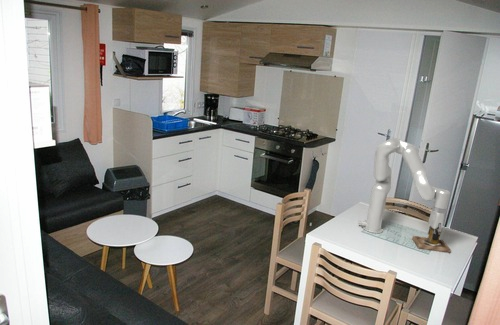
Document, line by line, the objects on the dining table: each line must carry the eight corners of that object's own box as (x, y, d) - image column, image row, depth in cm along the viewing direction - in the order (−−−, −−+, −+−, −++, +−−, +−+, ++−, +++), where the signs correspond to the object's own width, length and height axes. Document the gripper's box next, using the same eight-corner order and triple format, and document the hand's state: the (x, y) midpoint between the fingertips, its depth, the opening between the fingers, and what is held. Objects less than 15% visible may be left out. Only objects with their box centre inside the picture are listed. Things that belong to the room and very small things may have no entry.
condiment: (440, 244, 237) (445, 226, 234) (432, 246, 232) (437, 227, 229) (429, 239, 242) (434, 221, 240) (421, 241, 238) (426, 222, 235)
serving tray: (418, 248, 233) (419, 244, 232) (412, 239, 245) (412, 235, 244) (449, 252, 231) (450, 249, 231) (441, 243, 244) (442, 239, 243)
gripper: (427, 203, 241) (421, 230, 245) (438, 214, 224) (431, 242, 229) (440, 205, 240) (434, 232, 245) (451, 215, 224) (444, 244, 228)
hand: (432, 237), depth 237 cm, fingers closed on condiment, 6 cm apart
